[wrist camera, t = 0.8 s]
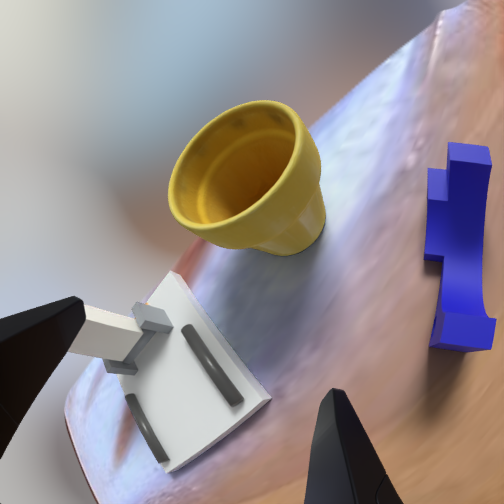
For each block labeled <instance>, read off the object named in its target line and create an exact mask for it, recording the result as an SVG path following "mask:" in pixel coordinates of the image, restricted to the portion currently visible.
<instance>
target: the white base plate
mask: <svg viewBox="0 0 504 504" xmlns="http://www.w3.org/2000/svg"><path fill="white" fill-rule="evenodd" d="M132 312H133V314H134V316H135V319H136V321H137V323H138V325H139V327H140V328H143V329H147V330H152V331H157V332H156V333H155V334H154V336H153V337H152V338H151V339H150V341H149V342H148V343H147V345H146V346H145V347H144V348H143V350H142V351H141V352H140V354H139V355H138V356H137V357H136V359H135V360H134V361H133V363H132V364H126V363H124V362H123V361H116V360H110V359H104V358H102V359H103V362H104V365H105V368H106V371H107V373H114V374H117V377H118V379H119V382H120V384H121V387H122V389H123V391H124V394H125V399H126V401H127V404H128V406H129V408H130V410H131V412H132V414H133V416H134V419H135V421H136V423H137V425H138V427H139V429H140V431H141V433H142V434H143V436H144V438H145V440H146V442H147V444H148V446H149V447H150V449H151V451H152V453H153V455H154V456H155V458H156V460H157V461H158V463H160V464H161V466H162V467H163V469H164V470H165V472H166V473H170V472H173V471H177V470H179V469H180V468H182V467H183V466H185V465H186V464H188V463H189V462H191V461H192V460H194V459H195V458H197V457H198V456H199V455H201V454H202V453H204V452H205V451H207V450H208V449H209V448H211V447H212V446H213V445H215V444H216V443H218V442H219V441H220V440H222V439H223V438H224V437H225V436H227V435H228V434H229V433H231V432H232V431H233V430H234V429H236V428H237V427H238V426H240V425H241V424H242V423H243V422H244V421H246V420H247V419H248V418H249V417H251V416H252V415H253V414H254V413H255V412H257V411H258V410H259V409H260V408H261V407H262V406H264V405H265V404H266V403H267V402H268V401H269V400H270V399H271V398H272V397H271V396H270V395H269V394H268V393H267V391H266V390H265V389H264V388H263V386H262V385H261V384H260V383H259V382H258V380H257V379H256V378H255V377H254V375H253V374H252V373H251V372H250V370H249V369H248V368H247V367H246V365H245V364H244V363H243V361H242V360H241V359H240V358H239V356H238V355H237V354H236V352H235V351H234V350H233V348H232V347H231V346H230V344H229V343H228V342H227V341H226V339H225V338H224V336H223V335H222V334H221V332H220V331H219V330H218V328H217V327H216V326H215V324H214V323H213V322H212V320H211V319H210V317H209V316H208V315H207V313H206V312H205V310H204V309H203V308H202V306H201V305H200V303H199V302H198V300H197V299H196V298H195V296H194V295H193V293H192V292H191V290H190V289H189V287H188V286H187V284H186V283H185V281H184V280H183V278H182V277H181V275H179V274H177V273H174V272H172V271H170V272H169V273H168V274H167V276H166V277H165V278H164V280H163V281H162V282H161V284H160V285H159V286H158V288H157V289H156V290H155V292H154V293H153V294H152V296H151V297H150V298H149V300H148V301H147V302H146V304H143V303H140V302H136V303H135V305H134V306H133V307H132Z"/></svg>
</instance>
